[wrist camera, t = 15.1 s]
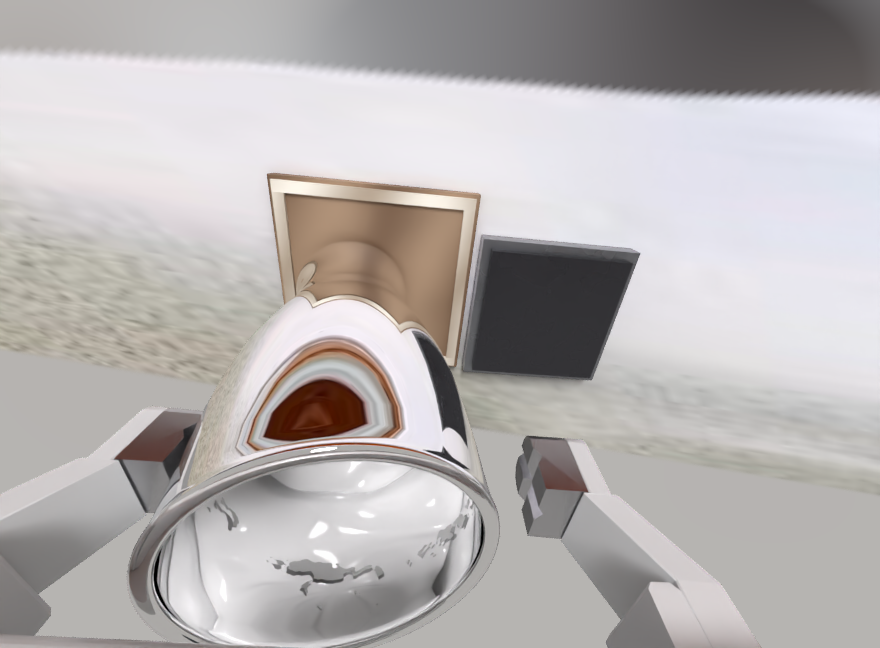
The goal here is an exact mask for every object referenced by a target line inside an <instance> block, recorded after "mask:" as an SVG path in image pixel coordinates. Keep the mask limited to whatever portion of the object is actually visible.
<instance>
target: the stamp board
mask: <svg viewBox="0 0 880 648" xmlns="http://www.w3.org/2000/svg"><path fill="white" fill-rule="evenodd" d="M267 179H268V187H269V194H270V201H271V209H272V216H273V224H274V231H275V239H276V246H277V254H278V261H279V269H280V276H281V283H282V291H283V298H284V305H285V304H286V303H287V302H288V301H289V300H291V299H292V298H293V297H294V296H296V284H297V279H298V275H299V273H300V270H301V268H302V266H303V265H304V263H305V262H306V261H307V259H308V258H309V257H310V256H311V255H312V254H313V253H315V252H316V251H317V250H319V249H320V248H322V247H324V246H326V245H329V244H332V243H335V242H341V241H358V242H363V243H367V244H370V245H373V246H375V247H377V248H379V249H380V250H382V251H383V252H385V253H386V254H387V255H388V256H389V257H390V258H391V259H392V260H393V261H394V262H395V263H396V264H397V266H398V267H399V269H400V271H401V273H402V275H403V278H404V282H405V287H406V301H405V303H406V304H407V306H408V307H409V308H410V309H411V310H412V311H413V312H414V313H415V315H416V316H417V317H418V318H419V319H420V320H421V322H422V323H423V324H424V326H425V327H426V329H427V330H428V331H429V333H430V334H431V336H432V337H433V339H434V340H435V342H436V343H437V345H438V346H439V348H440V350H441V352H442V354H443V356H444V358H445V360H446V362H447V364H448V366H453V367H456V365H457V358H458V351H459V344H460V337H461V330H462V323H463V316H464V309H465V302H466V295H467V288H468V281H469V274H470V267H471V260H472V253H473V246H474V239H475V232H476V225H477V218H478V211H479V204H480V197H481V195H480V194H478V193H468V192H458V191H449V190H439V189H429V188H419V187H409V186H399V185H389V184H379V183H369V182H359V181H349V180H339V179H329V178H319V177H309V176H300V175H290V174H280V173H270V174H267Z"/></svg>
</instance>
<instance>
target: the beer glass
mask: <svg viewBox="0 0 880 648" xmlns="http://www.w3.org/2000/svg"><path fill="white" fill-rule="evenodd" d="M405 301H406V287H405V282H404V278H403V275H402V273H401V271H400V269H399V267H398V266H397V264H396V263H395V262H394V261H393V260H392V259H391V258H390V257H389V256H388V255H387V254H386V253H385V252H383V251H382V250H380V249H379V248H377V247H375V246H373V245H370V244H367V243H363V242H358V241H341V242H335V243H332V244H329V245H326V246H324V247H322V248H320V249H319V250H317V251H316V252H315V253H313V254H312V255H311V256H310V257H309V258H308V259H307V261H306V262H305V263H304V265H303V266H302V268H301V270H300V273H299V275H298V279H297V284H296V296H294V297H293V298H292V299H291V300H289V301H288V302H287V303H286V304H285V305H283V306H282V307H281V308H280V309H278V310H277V311H276V312H275V313H274V314H273V315H272V316H271V317H270V318H269V319H268V320H267V321H266V322H265V323H264V324H263V325H262V326H261V327H260V328H259V329H258V330H257V331H256V332H255V333H254V334H253V335H252V336H251V337H250V338H249V339H248V341H247V342H246V343H245V345H244V346H243V347H242V349H241V350H240V352H239V353H238V355H237V356H236V357H235V359H234V360H233V362H232V363H231V365H230V366H229V367H228V369H227V370H226V372H225V373H224V375H223V376H222V378H221V380H220V382H219V383H218V385H217V387H216V389H215V391H214V392H213V394H212V396H211V398H210V400H209V401H208V403H207V405H206V407H205V409H204V410H203V412H202V414H201V416H200V418H199V420H198V422H197V424H196V426H195V428H194V430H193V432H192V434H191V436H190V438H189V440H188V442H187V444H186V446H185V448H184V450H183V453H182V455H181V457H180V459H179V461H178V463H177V466H176V468H175V470H174V472H173V474H172V477H171V479H170V481H169V483H168V486H167V488H166V490H165V492H164V494H163V496H162V498H161V500H160V502H159V504H158V507H157V509H156V511H155V513H154V515H153V517H152V519H151V521H150V522H149V524H148V526H147V527H146V529H145V530H144V531H143V533H142V534H141V536H140V538H139V539H138V541H137V543H136V545H135V547H134V549H133V552H132V555H131V558H130V561H129V564H128V571H127V586H128V592H129V596H130V599H131V603H132V605H133V607H134V608H135V610H136V612H137V614H138V615H139V616H140V618H141V619H142V620H143V621H144V623H145V624H146V625H147V626H149V628H151V629H152V630H153V631H154V632H155V633H157V634H158V635H160V636H161V637H163V638H164V639H166V640H167V641H169V642H187V643H209V644H231V645H253V646H275V647H297V648H373V647H376V646H379V645H382V644H385V643H387V642H390V641H393V640H395V639H397V638H400V637H401V636H404V635H406V634H408V633H411V632H413V631H415V630H417V629H418V628H420V627H422V626H424V625H426V624H428V623H429V622H431V621H433V620H434V619H436V618H438V617H439V616H441V615H442V614H443V613H445V612H446V611H448V610H449V609H450V608H452V607H453V606H454V605H455V604H457V603H458V602H459V601H460V600H461V599H463V598H464V597H465V596H466V595H467V594H468V593H469V592H470V591H471V590H472V589H473V588H474V587H475V585H476V584H477V583H478V582H479V581H480V579H481V578H482V577H483V575H484V574H485V572H486V571H487V569H488V568H489V566H490V564H491V562H492V560H493V558H494V555H495V552H496V550H497V546H498V542H499V535H500V523H499V516H498V512H497V508H496V506H495V503H494V501H493V499H492V497H491V495H490V492H489V490H488V486H487V482H486V479H485V475H484V472H483V468H482V465H481V461H480V458H479V454H478V450H477V446H476V443H475V439H474V436H473V433H472V429H471V426H470V423H469V419H468V416H467V413H466V410H465V407H464V404H463V401H462V399H461V396H460V393H459V390H458V388H457V385H456V382H455V379H454V377H453V375H452V373H451V371H450V368H449V366H448V364H447V362H446V360H445V358H444V356H443V354H442V352H441V350H440V348H439V346H438V345H437V343H436V342H435V340H434V339H433V337H432V336H431V334H430V333H429V331H428V330H427V329H426V327H425V326H424V324H423V323H422V322H421V320H420V319H419V318H418V317H417V316H416V315H415V313H414V312H413V311H412V310H411V309H410V308H409V307H408V306H407V304H406V303H405Z"/></svg>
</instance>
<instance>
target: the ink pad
mask: <svg viewBox="0 0 880 648" xmlns="http://www.w3.org/2000/svg"><path fill="white" fill-rule="evenodd" d="M639 255H640V253H639V252H637V251H635V250H633V249H629V248H619V247H608V246H597V245H586V244H576V243H565V242H554V241H544V240H533V239H522V238H512V237H501V236H490V235H482V237H481V244H480V250H479V257H478V263H477V270H476V276H475V283H474V289H473V296H472V303H471V309H470V316H469V322H468V329H467V335H466V342H465V348H464V355H463V362H462V365H463V371H465V372H480V373H494V374H508V375H523V376H537V377H552V378H566V379H581V380H592V379H593V376H594V373H595V371H596V368H597V365H598V363H599V360H600V358H601V355H602V352H603V350H604V347H605V344H606V342H607V339H608V337H609V334H610V331H611V329H612V326H613V324H614V321H615V318H616V316H617V313H618V310H619V308H620V305H621V303H622V300H623V297H624V295H625V292H626V289H627V287H628V284H629V282H630V279H631V276H632V274H633V271H634V269H635V266H636V263H637V261H638V258H639Z"/></svg>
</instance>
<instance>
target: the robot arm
mask: <svg viewBox="0 0 880 648" xmlns="http://www.w3.org/2000/svg"><path fill="white" fill-rule="evenodd" d="M202 412H203V411H199V410H189V409H179V408H166V407H156V406H150V407H148V408H145V409H143V410H141V412H139V413H138V414H137V415H136V416H135V417H133V418H132V419H131V420H130V421H129V422H128V423H127V424H126V425H124V426H123V427H122V428H121V429H120V430H119V431H117V433H115V434H114V435H113V436H112V437H111V438H109V439H108V440H107V441H106V442H105V443H104V444H103V445H102V446H100V447H99V448H98V449H97V450H96V451H95V452H93V453H92V454H91V455H90V456H89V457H88V458H78V459H76V460H74V461H72V462H70V463H67V464H65V465H63V466H61V467H58V468H57V469H54V470H52V471H50V472H47V473H45V474H43V475H41V476H39V477H36V478H34V479H32V480H30V481H28V482H25V483H23V484H21V485H19V486H17V487H14V488H12V489H10V490H8V491H6V492H3V493H1V494H0V648H297V647H275V646H253V645H231V644H209V643H187V642H165V641H164V642H163V641H142V640H120V639H98V638H76V637H53V636H34V635H35V634H36V633H37V632H38V631H39V629H40V628H41V627H42V626H43V624H44V623H45V622H46V620H47V619H48V618H49V617H50V616H51V607H50V606H49V605H48V604H47V603H46V602H45V601H44V600H43V599H42V598H41V597H40V596H39V595H38V594H39V593H40V592H42V591H43V590H44V589H46V588H47V587H48V586H50V585H51V584H53V583H54V582H55V581H57V580H58V579H59V578H61V577H62V576H63V575H65V574H66V573H68V572H69V571H70V570H72V569H73V568H74V567H76V566H77V565H78V564H80V563H81V562H83V561H84V560H85V559H87V558H88V557H90V556H91V555H92V554H94V553H95V552H96V551H97V550H99V549H100V548H102V547H103V546H105V545H106V544H107V543H109V542H110V541H111V540H113V539H114V538H116V537H117V536H118V535H120V534H121V533H122V532H124V531H125V530H126V529H128V528H129V527H131V526H132V525H133V524H135V523H136V522H137V521H139V520H140V519H141V518H143V517H144V516H146V513H155V511H156V509H157V507H158V504H159V502H160V500H161V498H162V496H163V494H164V492H165V490H166V488H167V486H168V483H169V481H170V479H171V477H172V474H173V472H174V470H175V468H176V466H177V463H178V461H179V459H180V457H181V455H182V453H183V450H184V448H185V446H186V444H187V442H188V440H189V438H190V436H191V434H192V432H193V430H194V428H195V426H196V424H197V422H198V420H199V418H200V416H201V414H202ZM522 448H523V451H524V454H522V455H521V456H519V458H518V461H517V464H516V485H517V490H518V494H519V495H520V496H521V497H522V498H523V499H524V501H525V502H524V505H523V508H522V513H523V517H524V521H525V526H526V530H527V534H528V536H536V537H546V538H557V539H561V542H562V543H563V544H564V545H565V547H566V548H567V549H568V551H569V552H570V553H571V555H572V556H573V557H574V559H575V560H576V561H577V563H578V564H579V565H580V567H581V568H582V569H583V570H584V572H585V573H586V574H587V576H588V577H589V578H590V580H591V581H592V582H593V584H594V585H595V586H596V588H597V589H598V590H599V592H600V593H601V594H602V596H603V597H604V598H605V599H606V601H607V602H608V603H609V605H610V606H611V607H612V609H613V610H614V611H615V613H616V614H617V615H618V617H619V618H620V619H621V621H620V622H619V623H618V625H617V626H616V627H615V628H614V630H613V631H612V632H611V633H610V635H609V637H608V639H607V641H606V644H607V647H608V648H761V646H760V645H759V643H758V642H757V640H756V638H755V637H754V635H753V634H752V632H751V631H750V629H749V627H748V626H747V625H746V623H745V621H744V620H743V618H742V617H741V615H740V613H739V612H738V610H737V609H736V607H735V606H734V604H733V602H732V601H731V599H730V598H729V596H728V595H727V593H726V591H725V590H724V588H723V587H722V585H721V584H720V583H719V582H718V581H717V580H715V579H714V578H713V577H712V576H711V575H710V574H708V573H707V572H706V571H705V570H704V569H702V568H701V567H700V566H699V565H698V564H697V563H696V562H695V561H693V560H692V559H691V558H690V557H689V556H688V555H686V554H685V553H684V552H683V551H682V550H680V549H679V548H678V547H677V546H676V545H674V543H672V542H671V541H670V540H669V539H668V538H667V537H665V536H664V535H663V534H662V533H661V532H659V531H658V530H657V529H656V528H655V527H654V526H653V525H651V524H650V523H649V522H648V521H647V520H646V519H644V518H643V517H642V516H641V515H640V514H639V513H637V512H636V511H635V510H634V509H633V508H632V507H631V506H629V505H628V504H627V503H626V502H625V501H624V500H622V499H621V498H620V497H619V496H618V495H611V493H610V491H609V489H608V487H607V485H606V483H605V481H604V479H603V477H602V475H601V473H600V471H599V469H598V467H597V465H596V463H595V461H594V459H593V457H592V455H591V453H590V451H589V449H588V447H587V445H586V443H585V442H584V441H583V440H582V439H567V438H563V439H562V438H553V437H538V436H526V437H525V439H524V441H523V444H522Z"/></svg>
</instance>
